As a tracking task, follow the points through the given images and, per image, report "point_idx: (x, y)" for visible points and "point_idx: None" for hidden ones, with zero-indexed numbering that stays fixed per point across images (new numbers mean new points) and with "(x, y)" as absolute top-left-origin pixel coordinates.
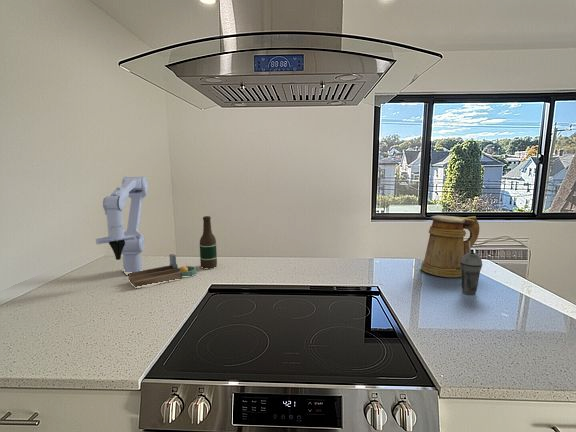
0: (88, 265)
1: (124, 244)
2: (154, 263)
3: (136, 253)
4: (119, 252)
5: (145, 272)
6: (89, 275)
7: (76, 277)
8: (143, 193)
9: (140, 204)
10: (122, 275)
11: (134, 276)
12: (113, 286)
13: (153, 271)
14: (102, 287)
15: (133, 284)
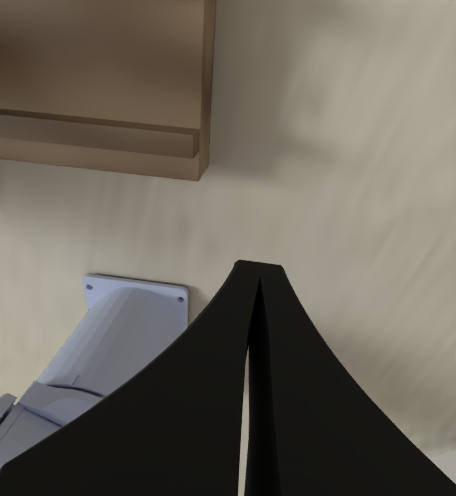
0: None
1: (18, 464)
2: (28, 362)
3: (49, 391)
4: (239, 322)
5: (66, 117)
6: None
7: None
8: None
9: None
10: (201, 311)
11: (166, 120)
12: (314, 164)
13: (3, 110)
14: (371, 197)
15: (211, 12)
